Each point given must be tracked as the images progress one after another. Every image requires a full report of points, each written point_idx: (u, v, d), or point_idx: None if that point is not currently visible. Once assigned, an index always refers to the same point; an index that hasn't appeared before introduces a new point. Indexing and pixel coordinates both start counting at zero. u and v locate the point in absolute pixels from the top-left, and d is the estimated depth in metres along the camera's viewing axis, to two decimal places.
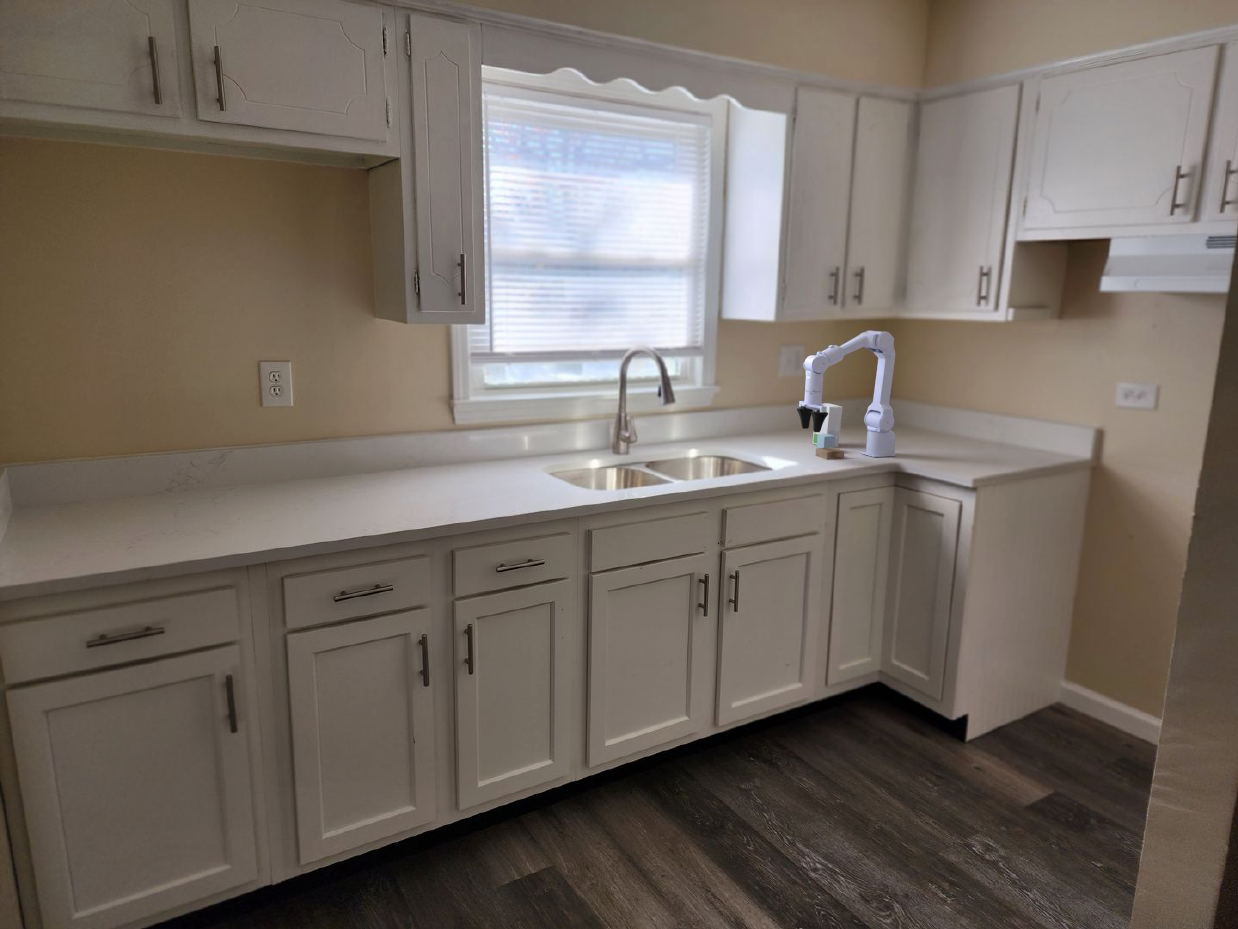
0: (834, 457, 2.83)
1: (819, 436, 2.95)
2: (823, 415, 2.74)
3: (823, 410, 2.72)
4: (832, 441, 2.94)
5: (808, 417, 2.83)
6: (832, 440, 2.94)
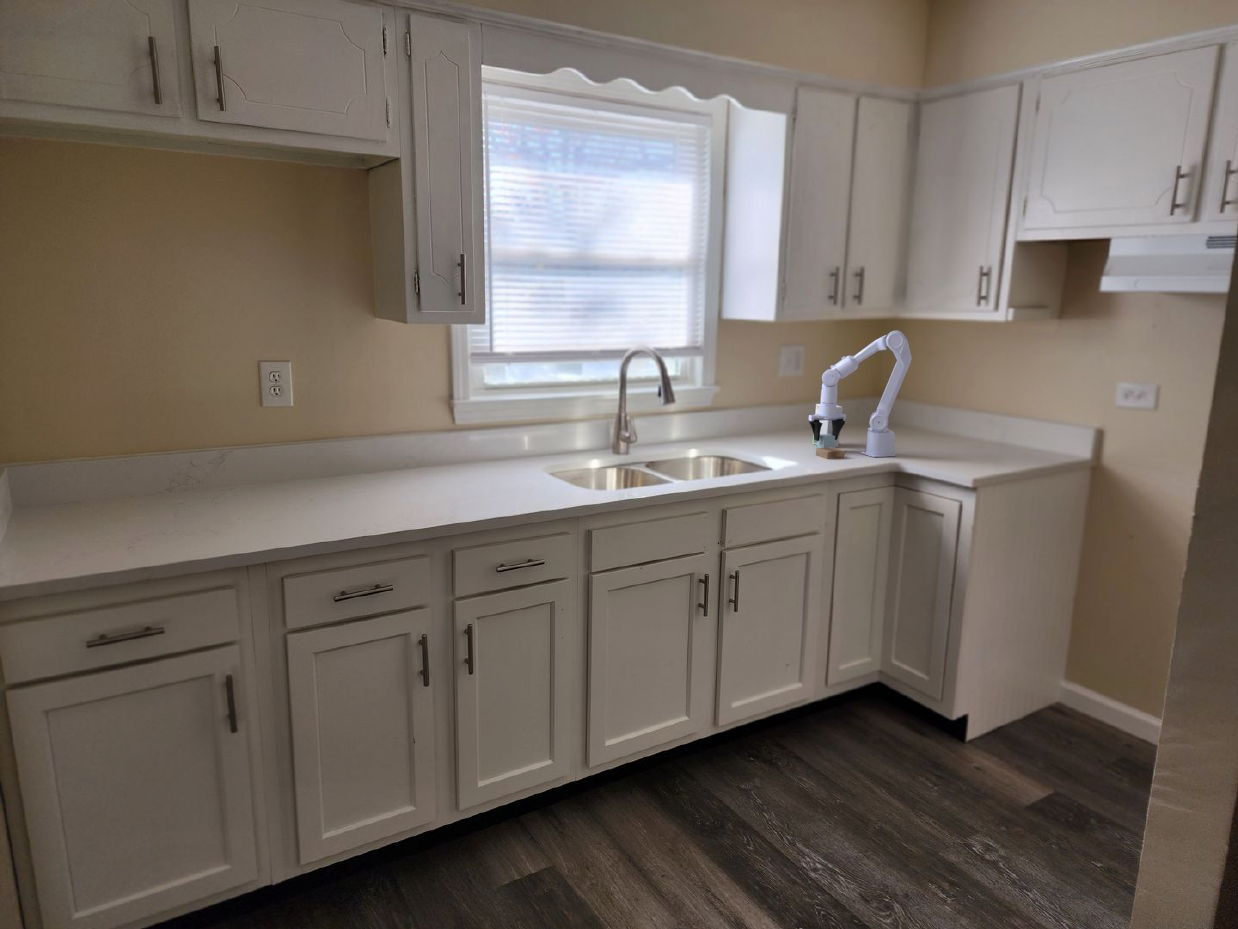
0: (834, 457, 2.83)
1: None
2: None
3: (809, 419, 2.92)
4: (832, 441, 2.94)
5: (836, 429, 2.95)
6: (832, 440, 2.94)
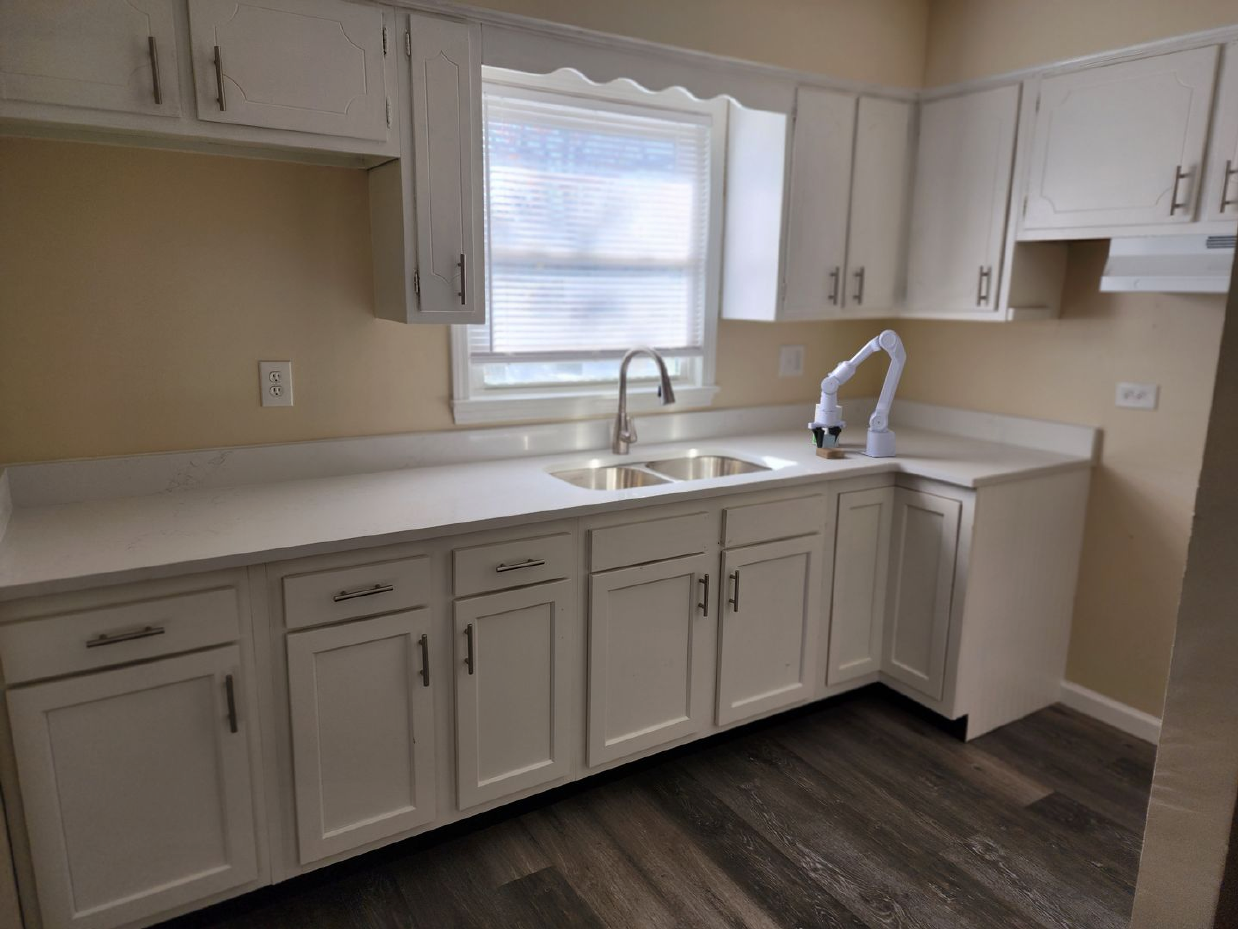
0: (834, 456, 2.83)
1: None
2: None
3: (809, 426, 2.92)
4: (832, 441, 2.94)
5: None
6: (832, 439, 2.94)
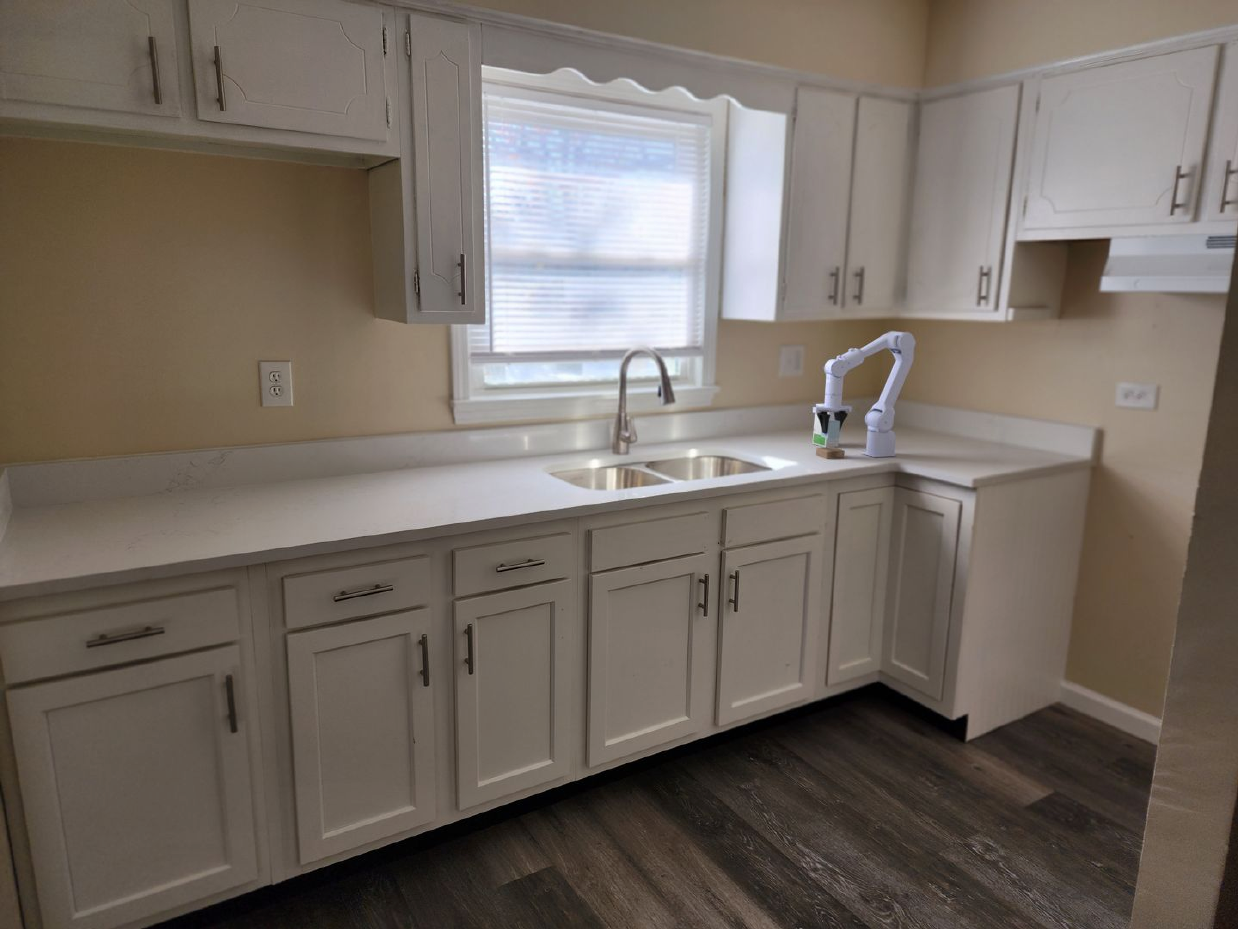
0: (834, 456, 2.83)
1: None
2: None
3: (814, 410, 2.82)
4: (837, 426, 2.84)
5: None
6: (837, 425, 2.84)
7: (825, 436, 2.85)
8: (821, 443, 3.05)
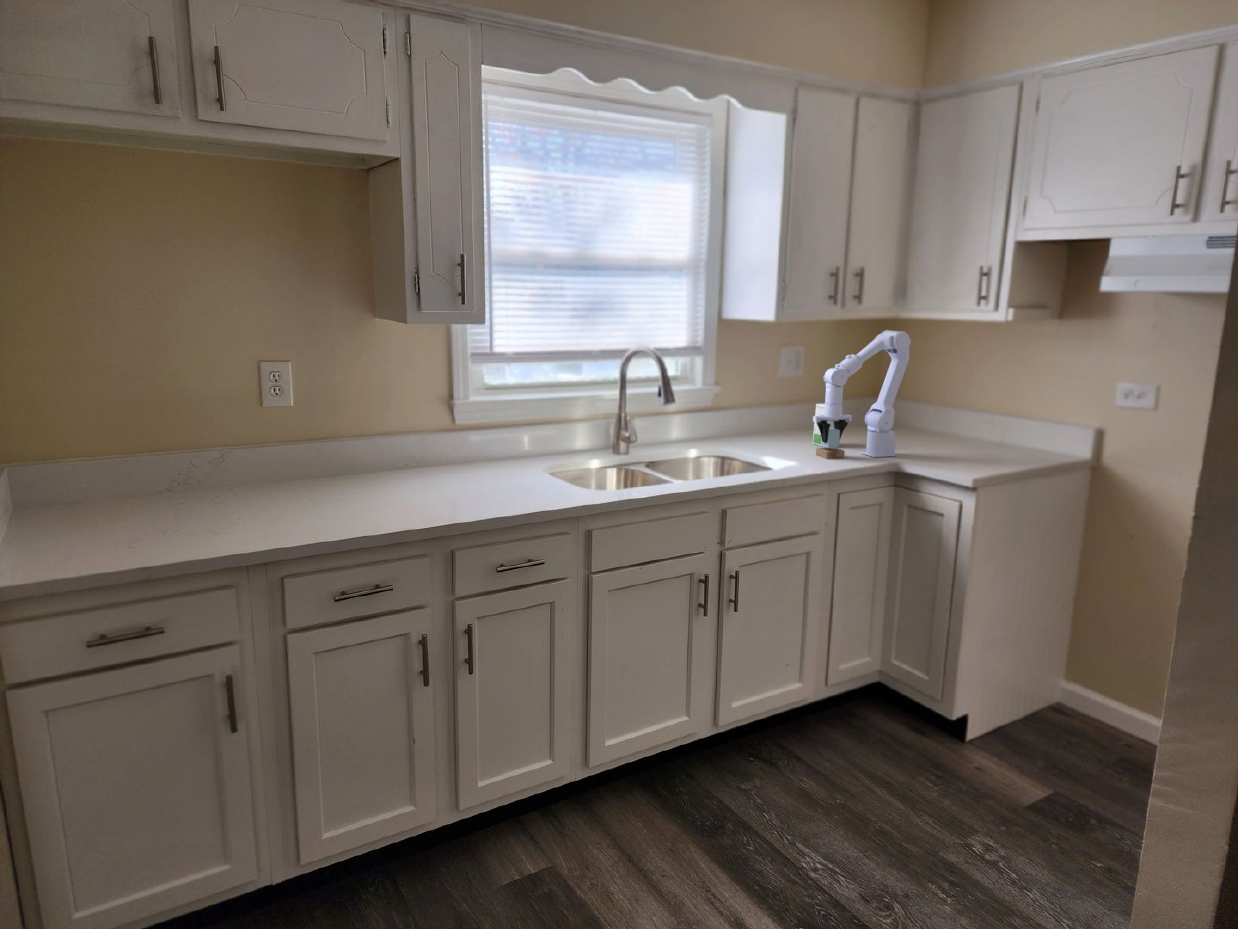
0: (834, 456, 2.83)
1: None
2: None
3: (814, 420, 2.81)
4: (837, 435, 2.83)
5: None
6: (837, 434, 2.83)
7: (825, 445, 2.84)
8: None
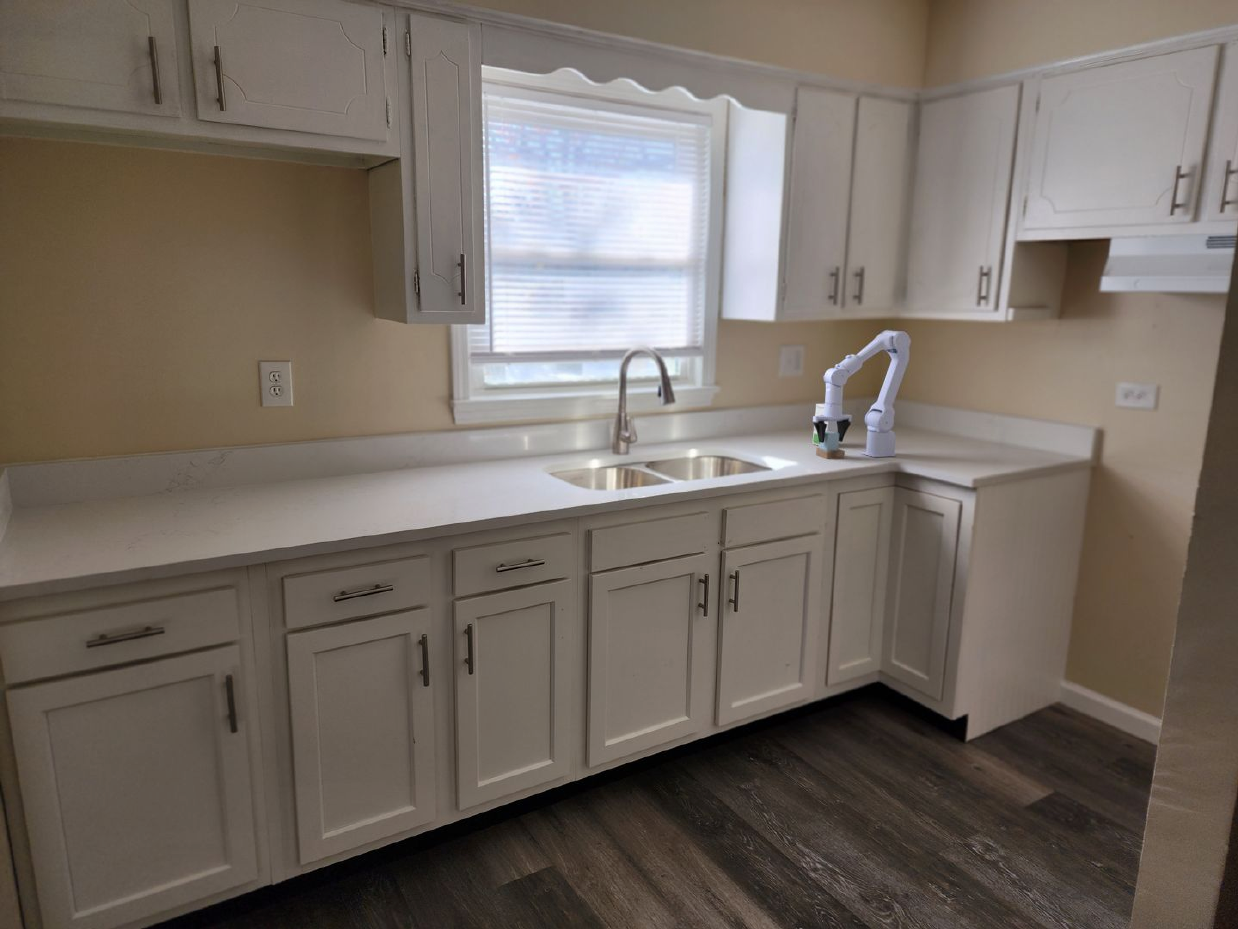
0: (834, 457, 2.83)
1: None
2: None
3: (814, 420, 2.81)
4: (836, 439, 2.84)
5: (842, 430, 2.85)
6: (836, 437, 2.84)
7: (824, 448, 2.85)
8: None
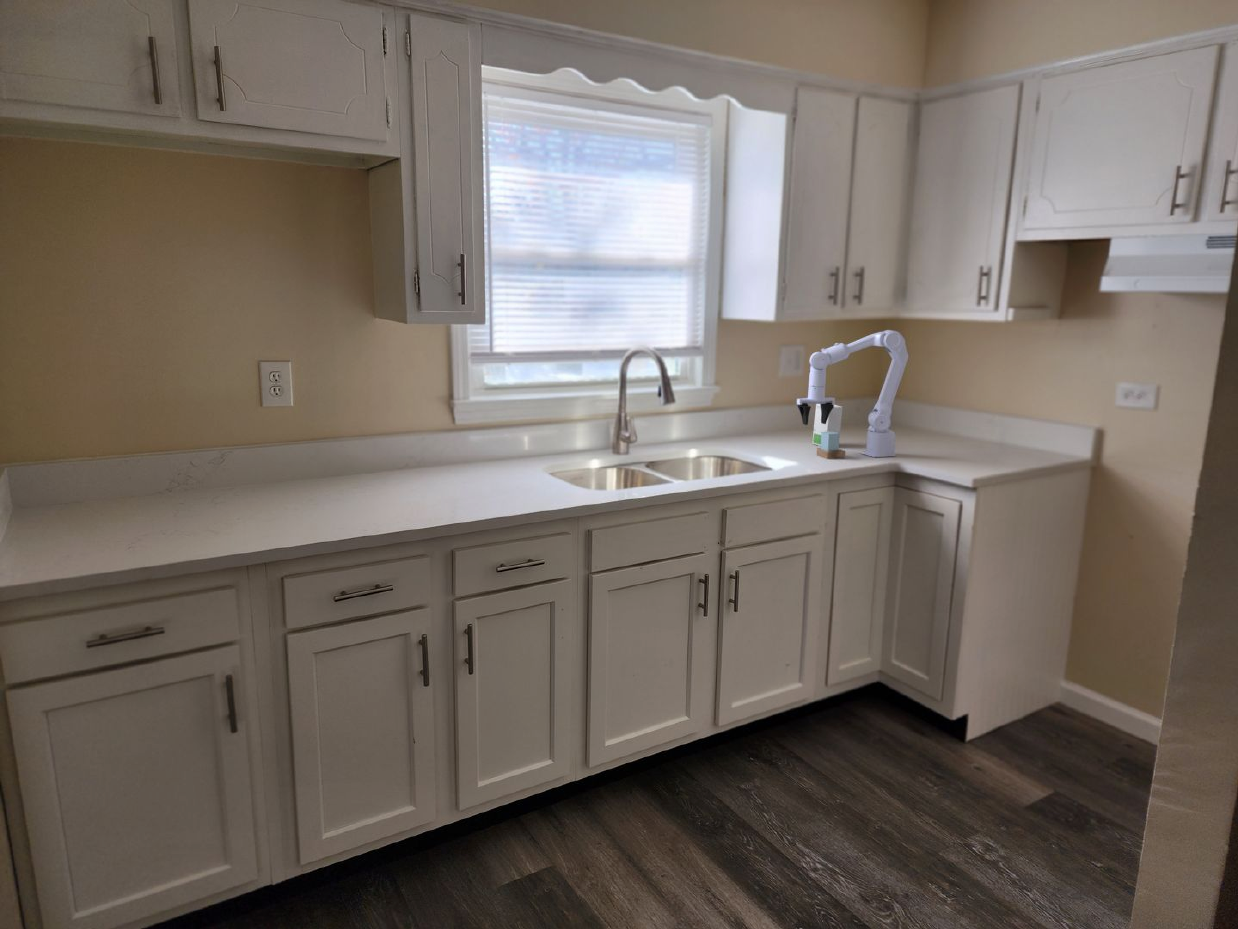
0: (835, 457, 2.83)
1: (823, 434, 2.85)
2: None
3: (797, 402, 2.88)
4: (837, 438, 2.84)
5: (825, 413, 2.91)
6: (837, 437, 2.84)
7: (825, 448, 2.85)
8: None
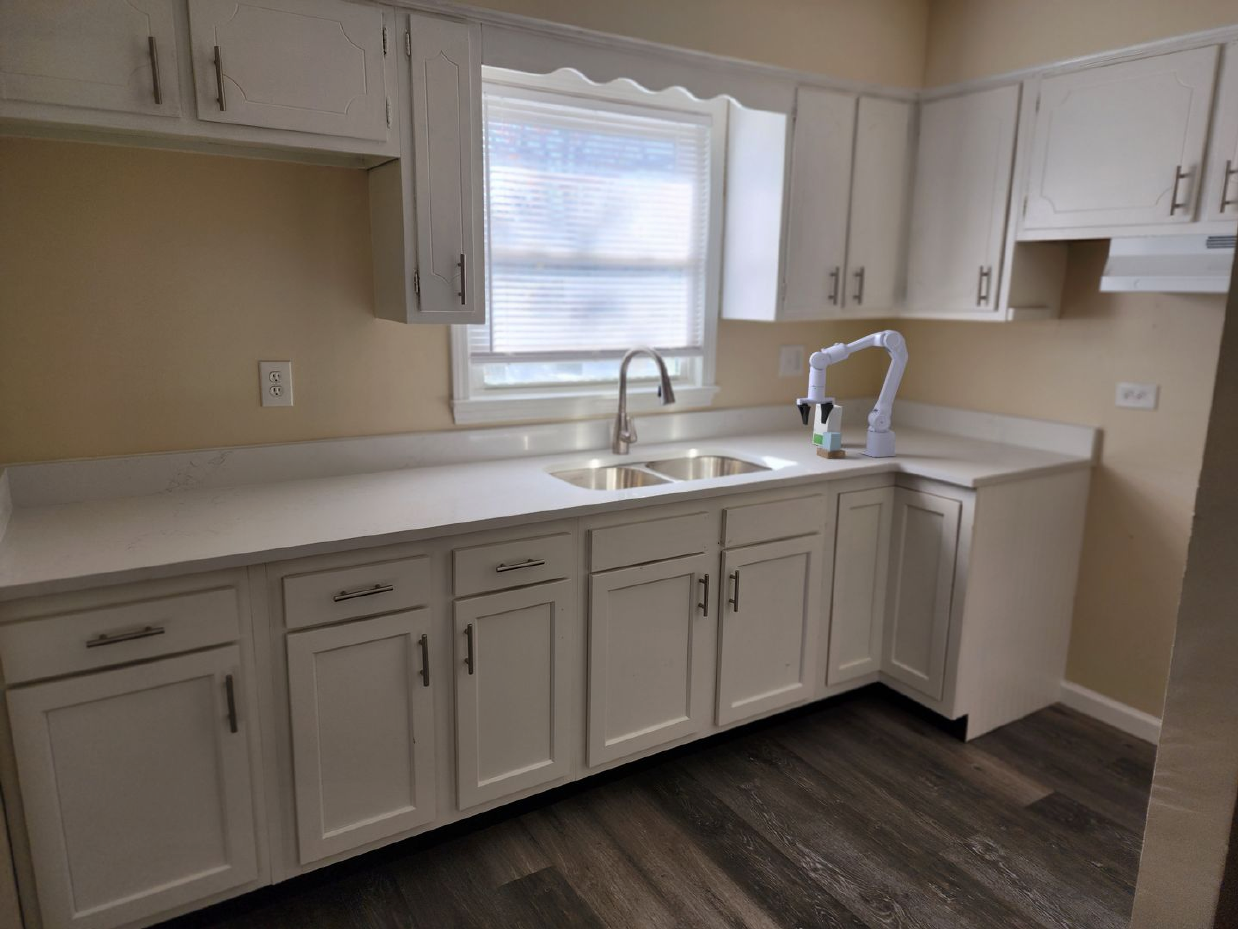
0: (835, 457, 2.84)
1: (825, 433, 2.85)
2: None
3: (797, 402, 2.88)
4: (839, 439, 2.84)
5: (825, 413, 2.91)
6: (839, 437, 2.84)
7: (827, 448, 2.84)
8: (821, 443, 3.05)
